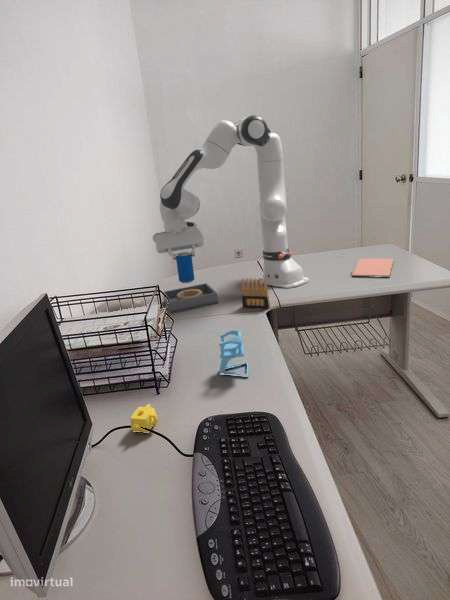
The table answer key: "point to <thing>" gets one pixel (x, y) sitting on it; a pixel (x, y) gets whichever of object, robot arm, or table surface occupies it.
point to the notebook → (372, 267)
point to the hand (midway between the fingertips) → (184, 257)
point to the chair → (231, 351)
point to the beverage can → (185, 267)
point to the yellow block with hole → (143, 418)
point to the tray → (190, 297)
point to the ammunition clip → (255, 295)
